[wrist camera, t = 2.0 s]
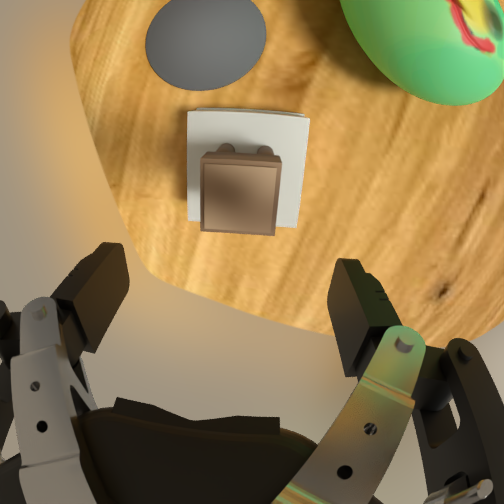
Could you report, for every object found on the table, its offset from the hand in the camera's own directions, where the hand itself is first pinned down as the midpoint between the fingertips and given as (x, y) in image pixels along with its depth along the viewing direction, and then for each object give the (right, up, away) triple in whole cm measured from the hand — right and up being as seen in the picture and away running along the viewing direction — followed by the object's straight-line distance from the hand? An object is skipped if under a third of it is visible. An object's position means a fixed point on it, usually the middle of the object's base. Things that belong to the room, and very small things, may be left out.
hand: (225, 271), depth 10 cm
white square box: (0, +10, +17) cm, 20 cm away
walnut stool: (0, +8, +13) cm, 15 cm away
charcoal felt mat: (-4, +22, +11) cm, 24 cm away
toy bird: (+17, +25, +9) cm, 31 cm away
